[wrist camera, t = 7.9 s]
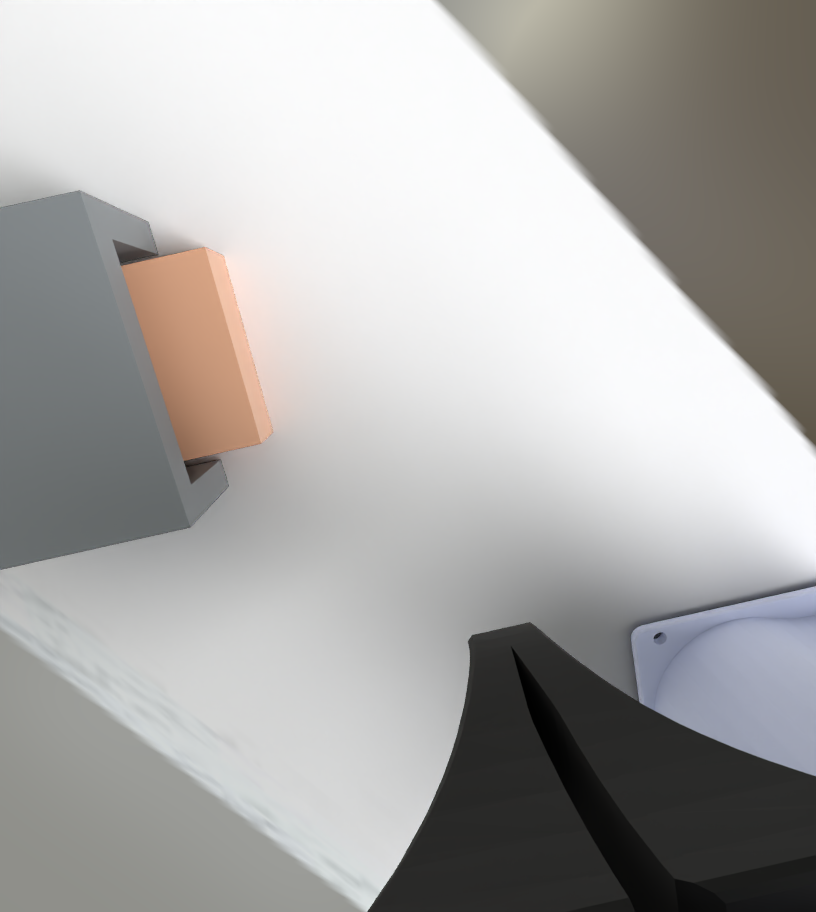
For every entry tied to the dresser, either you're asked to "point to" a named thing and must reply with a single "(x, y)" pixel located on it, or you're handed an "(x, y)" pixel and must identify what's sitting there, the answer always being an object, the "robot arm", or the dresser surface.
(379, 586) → the dresser surface
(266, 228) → the dresser surface
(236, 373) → the slab
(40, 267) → the block
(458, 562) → the dresser surface
